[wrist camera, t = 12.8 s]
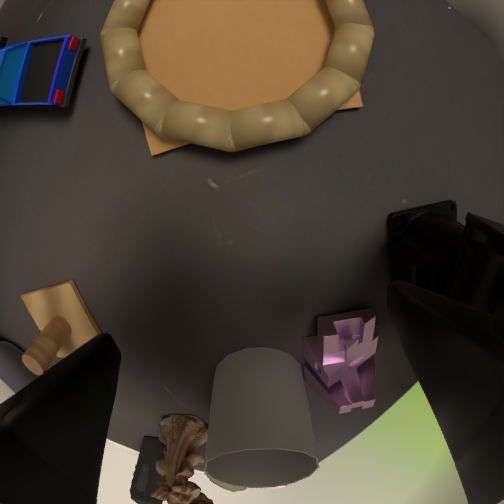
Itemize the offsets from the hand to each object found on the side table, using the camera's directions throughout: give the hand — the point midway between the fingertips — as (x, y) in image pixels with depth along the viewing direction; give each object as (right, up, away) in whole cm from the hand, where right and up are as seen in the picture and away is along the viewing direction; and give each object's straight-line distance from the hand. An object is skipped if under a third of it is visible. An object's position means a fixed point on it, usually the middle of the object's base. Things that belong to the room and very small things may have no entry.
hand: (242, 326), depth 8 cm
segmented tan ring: (-1, +16, +4) cm, 16 cm away
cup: (+1, -10, +17) cm, 20 cm away
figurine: (-7, -18, +21) cm, 29 cm away
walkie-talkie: (-13, -24, +23) cm, 36 cm away
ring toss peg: (-18, -5, +15) cm, 24 cm away
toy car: (-18, +16, +6) cm, 25 cm away
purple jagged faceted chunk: (+8, -6, +16) cm, 19 cm away
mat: (-1, +16, +6) cm, 17 cm away
